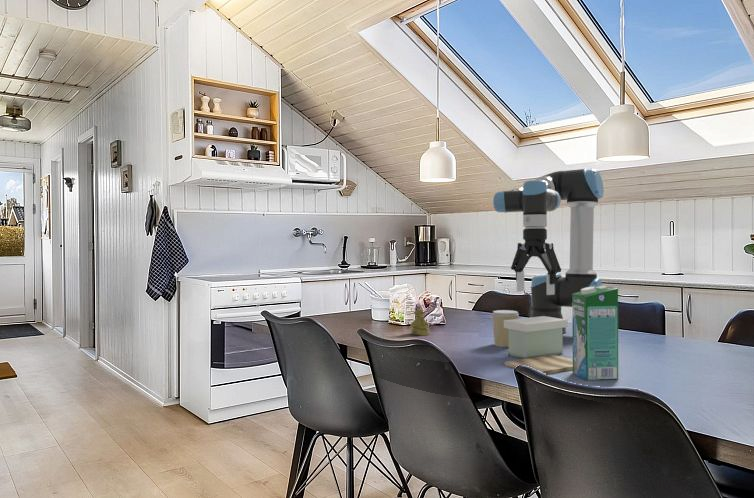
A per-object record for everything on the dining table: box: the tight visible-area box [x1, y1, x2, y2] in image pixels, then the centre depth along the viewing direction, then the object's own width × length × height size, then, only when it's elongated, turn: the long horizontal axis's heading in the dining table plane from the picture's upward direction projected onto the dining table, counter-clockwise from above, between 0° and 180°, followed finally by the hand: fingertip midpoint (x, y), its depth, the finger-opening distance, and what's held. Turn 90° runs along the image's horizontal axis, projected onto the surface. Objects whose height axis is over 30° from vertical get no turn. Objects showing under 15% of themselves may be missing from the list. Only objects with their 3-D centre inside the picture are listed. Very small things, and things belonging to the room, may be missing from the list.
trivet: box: [504, 355, 573, 375], centre depth 176 cm, size 20×15×1 cm
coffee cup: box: [491, 309, 520, 348], centre depth 209 cm, size 9×9×12 cm
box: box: [508, 328, 564, 359], centre depth 192 cm, size 16×8×9 cm, turn 119°
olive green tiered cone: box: [410, 308, 430, 336], centre depth 235 cm, size 7×7×10 cm
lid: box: [504, 316, 568, 332], centre depth 192 cm, size 18×10×3 cm, turn 119°
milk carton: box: [571, 284, 619, 381], centre depth 162 cm, size 9×9×25 cm
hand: (535, 293), depth 192 cm, fingers open, 13 cm apart
